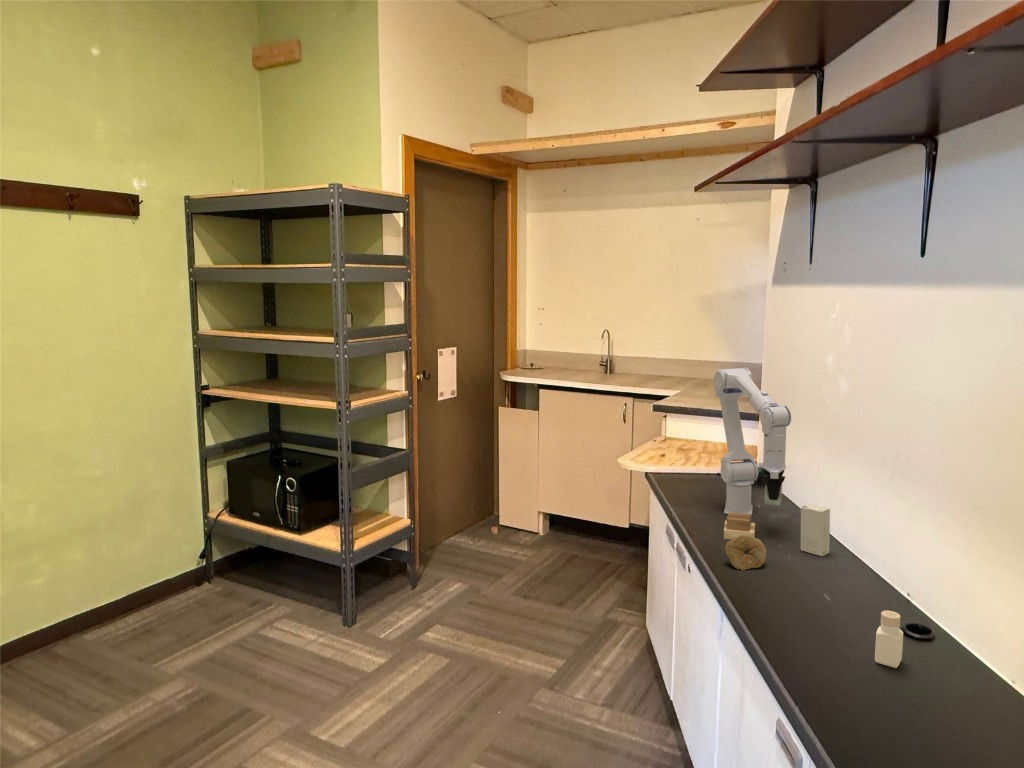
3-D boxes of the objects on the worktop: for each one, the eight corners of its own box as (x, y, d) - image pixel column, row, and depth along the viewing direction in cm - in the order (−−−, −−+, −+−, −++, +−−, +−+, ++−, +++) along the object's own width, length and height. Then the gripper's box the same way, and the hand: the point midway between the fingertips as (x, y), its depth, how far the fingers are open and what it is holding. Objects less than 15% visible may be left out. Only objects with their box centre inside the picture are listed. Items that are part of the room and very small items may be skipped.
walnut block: (728, 522, 203) (728, 511, 202) (750, 524, 200) (751, 514, 200) (726, 529, 197) (726, 518, 197) (749, 531, 195) (749, 521, 195)
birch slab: (725, 530, 205) (725, 520, 204) (754, 533, 202) (754, 523, 202) (723, 540, 197) (723, 530, 197) (754, 543, 195) (754, 532, 194)
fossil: (720, 541, 180) (755, 529, 182) (717, 548, 184) (751, 537, 185) (737, 573, 175) (774, 560, 177) (734, 580, 178) (769, 567, 180)
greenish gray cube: (766, 499, 202) (766, 482, 201) (781, 501, 200) (782, 484, 200) (764, 503, 199) (764, 486, 198) (779, 505, 197) (780, 488, 196)
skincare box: (829, 552, 186) (832, 508, 184) (821, 557, 183) (823, 512, 181) (807, 546, 190) (809, 502, 188) (798, 550, 187) (800, 506, 186)
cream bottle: (878, 654, 137) (881, 607, 135) (902, 660, 134) (905, 613, 133) (873, 663, 134) (876, 615, 132) (897, 670, 131) (900, 621, 130)
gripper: (759, 442, 205) (757, 488, 207) (759, 455, 192) (757, 503, 194) (785, 443, 203) (783, 490, 205) (787, 456, 189) (785, 505, 191)
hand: (773, 496), depth 199 cm, fingers closed on greenish gray cube, 4 cm apart
